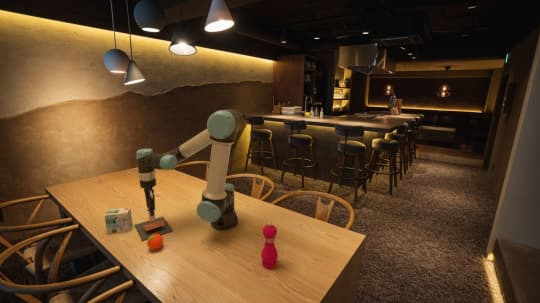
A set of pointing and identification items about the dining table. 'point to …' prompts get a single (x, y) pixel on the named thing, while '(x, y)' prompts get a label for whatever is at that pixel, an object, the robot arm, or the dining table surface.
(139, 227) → the mat
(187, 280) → the dining table surface
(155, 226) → the block
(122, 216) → the light bulb box
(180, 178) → the dining table surface
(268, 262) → the pink bowling pin
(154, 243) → the clementine
